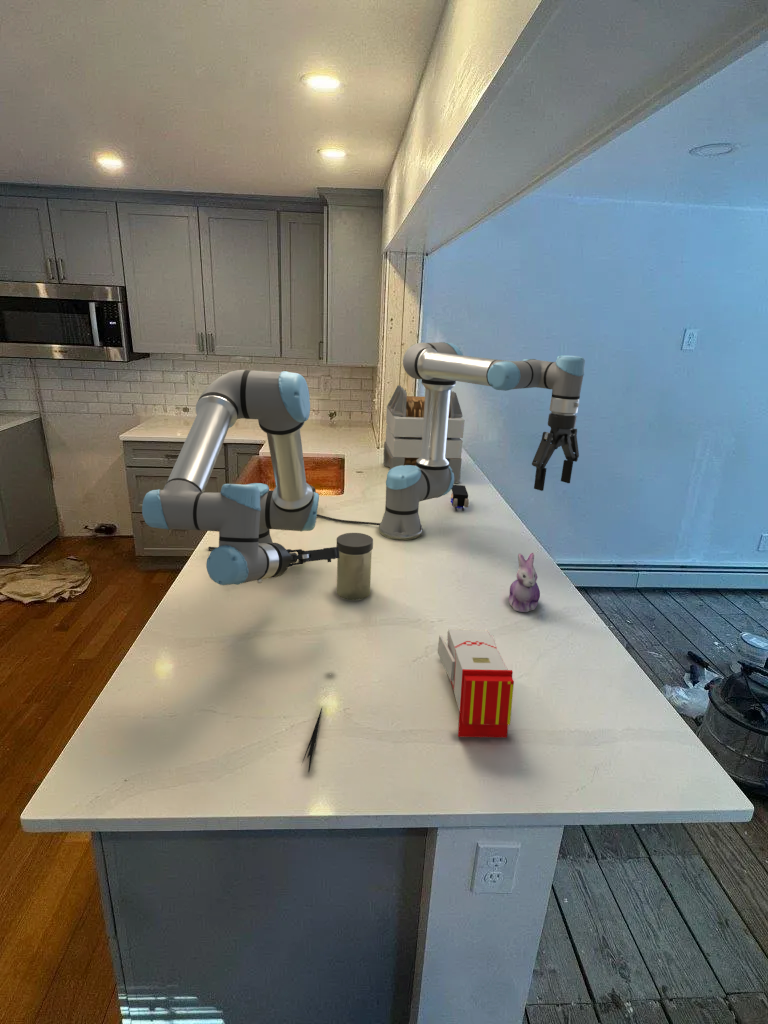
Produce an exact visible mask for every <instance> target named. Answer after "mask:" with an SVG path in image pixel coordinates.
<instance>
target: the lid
mask: <svg viewBox="0 0 768 1024" xmlns="http://www.w3.org/2000/svg"><path fill="white" fill-rule="evenodd" d="M335 547H339V551H341V552H343V553H346V554H364V553H368V552H370V551H371V550H373V548H374V538H373V537H372V536H371V535H369V534H366V533H362V532H346V533H343V534H340V535H338V536H337V537H336V546H335Z"/></svg>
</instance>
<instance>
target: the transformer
mask: <svg viewBox="0 0 768 1024" xmlns="http://www.w3.org/2000/svg"><path fill="white" fill-rule="evenodd" d="M407 394H408V393H407V390H406V389H404V388H403V387H402V385H399V384H398V385H397V386H396V388H395V390H394V392H393V394H392V395H391V398H390V400H389V402H388V404H387V405H386V413H385V414H386V415H385V423H386V428H385V438H384V442H383V466H384V467H388V468H389V470H390V469H392V468H394V467H396V466H401V465H404V466H405V465H413V466H416V461H417V459H418V458H420V457H421V449H422V434H423V419H424V404H425V396H415V395H414V396H413V395H412V396H411V395H407ZM464 429H465V419H464V418H463V411H462V408H461V405H460V402H459V398H458V395H457V392H455V391H453V390H451V392H450V404H449V416H448V428H447V441H446V453H445V458H446V459H447V461H448V462H449V466H450V467H451V469H452V473H454V484H455V483H456V484H459V483H461V472H462V461H463V460H462V453H463V442H464V441H463V440H462V439H463V438H464V431H465V430H464Z"/></svg>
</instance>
